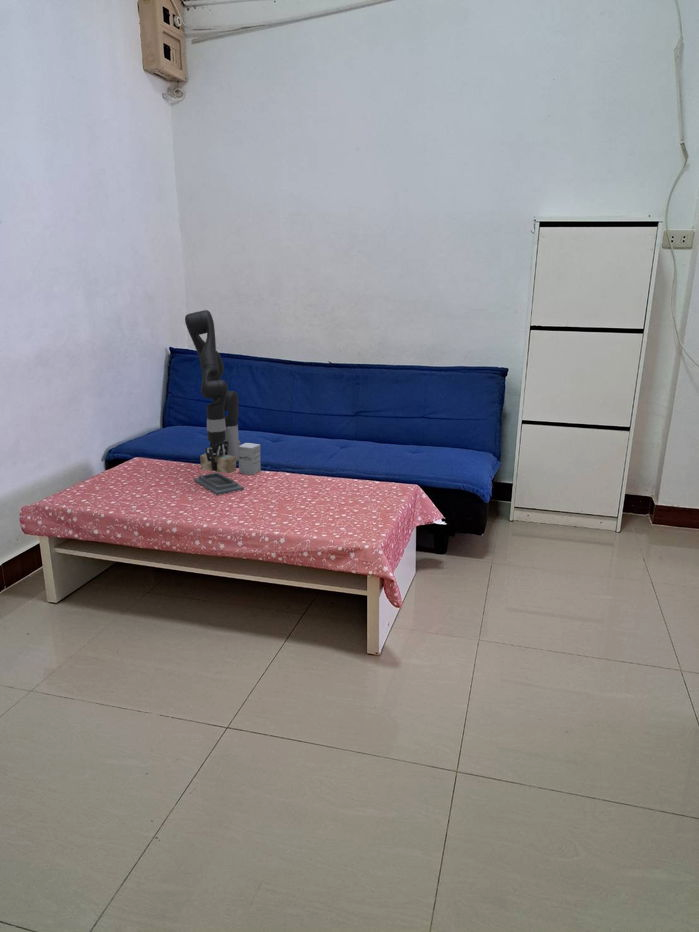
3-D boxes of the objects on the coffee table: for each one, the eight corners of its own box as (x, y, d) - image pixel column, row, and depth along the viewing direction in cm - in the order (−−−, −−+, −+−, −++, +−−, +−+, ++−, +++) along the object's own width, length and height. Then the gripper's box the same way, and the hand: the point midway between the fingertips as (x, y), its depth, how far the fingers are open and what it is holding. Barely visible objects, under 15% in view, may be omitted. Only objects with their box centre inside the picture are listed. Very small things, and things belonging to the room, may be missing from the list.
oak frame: (200, 469, 275) (200, 455, 273) (207, 466, 279) (206, 452, 278) (229, 473, 270) (229, 459, 268) (236, 470, 274) (235, 456, 272)
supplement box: (238, 473, 293) (237, 446, 289) (247, 468, 299) (246, 442, 296) (253, 475, 290) (252, 447, 287) (261, 470, 297) (260, 443, 293)
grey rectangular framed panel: (193, 481, 281) (193, 475, 281) (219, 476, 288) (219, 470, 287) (216, 495, 265) (216, 489, 264) (243, 489, 272) (243, 483, 271)
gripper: (218, 424, 277) (220, 462, 282) (198, 431, 264) (200, 472, 270) (233, 425, 274) (235, 464, 279) (214, 433, 262) (216, 474, 267)
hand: (218, 468), depth 274 cm, fingers closed on oak frame, 5 cm apart
